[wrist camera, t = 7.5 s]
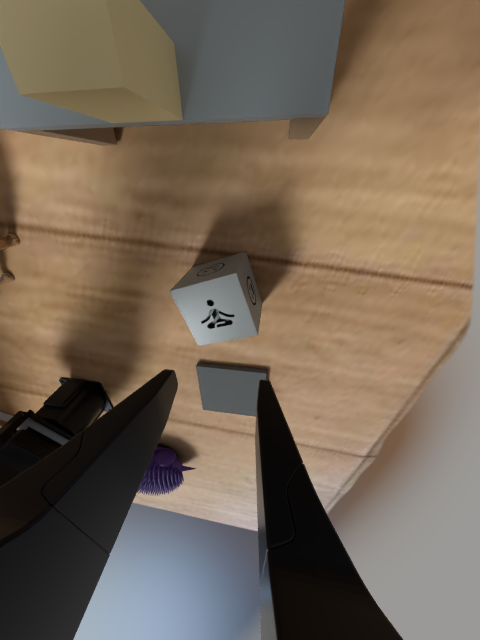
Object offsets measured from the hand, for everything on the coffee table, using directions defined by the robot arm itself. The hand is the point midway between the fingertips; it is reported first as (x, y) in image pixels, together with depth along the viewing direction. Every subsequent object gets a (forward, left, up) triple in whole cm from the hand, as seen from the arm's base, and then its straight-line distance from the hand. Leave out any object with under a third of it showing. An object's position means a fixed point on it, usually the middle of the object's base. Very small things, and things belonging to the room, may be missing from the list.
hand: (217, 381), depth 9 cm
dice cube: (-1, +2, -12) cm, 12 cm away
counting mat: (-15, +2, -12) cm, 19 cm away
